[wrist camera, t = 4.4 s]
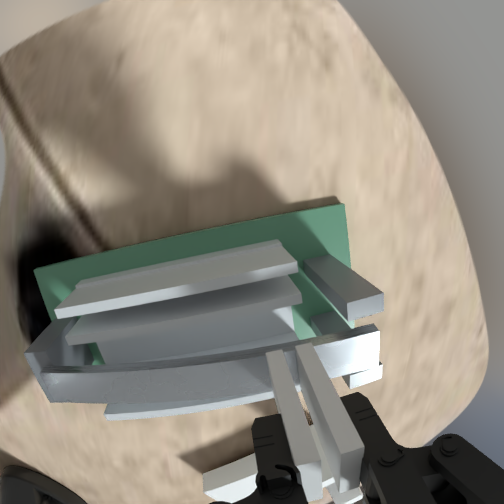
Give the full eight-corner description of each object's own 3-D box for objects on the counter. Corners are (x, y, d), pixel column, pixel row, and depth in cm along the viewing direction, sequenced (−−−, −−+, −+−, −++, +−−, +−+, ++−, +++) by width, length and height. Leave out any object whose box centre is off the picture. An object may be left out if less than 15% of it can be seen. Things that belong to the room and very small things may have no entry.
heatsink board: (90, 395, 23) (62, 461, 15) (37, 267, 20) (-25, 309, 12) (352, 347, 25) (398, 407, 17) (340, 203, 21) (406, 220, 14)
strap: (59, 393, 16) (54, 401, 15) (44, 366, 15) (38, 373, 14) (372, 358, 15) (378, 366, 15) (373, 323, 15) (379, 330, 14)
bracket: (314, 415, 26) (339, 473, 19) (340, 446, 28) (364, 497, 21) (202, 467, 27) (204, 524, 19) (239, 492, 29) (247, 542, 21)
